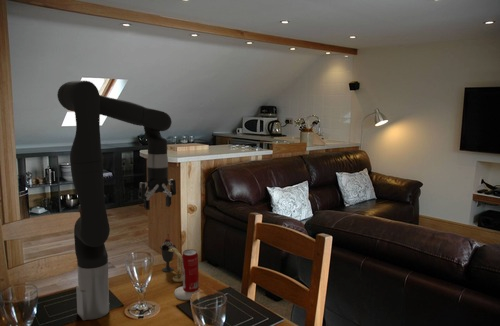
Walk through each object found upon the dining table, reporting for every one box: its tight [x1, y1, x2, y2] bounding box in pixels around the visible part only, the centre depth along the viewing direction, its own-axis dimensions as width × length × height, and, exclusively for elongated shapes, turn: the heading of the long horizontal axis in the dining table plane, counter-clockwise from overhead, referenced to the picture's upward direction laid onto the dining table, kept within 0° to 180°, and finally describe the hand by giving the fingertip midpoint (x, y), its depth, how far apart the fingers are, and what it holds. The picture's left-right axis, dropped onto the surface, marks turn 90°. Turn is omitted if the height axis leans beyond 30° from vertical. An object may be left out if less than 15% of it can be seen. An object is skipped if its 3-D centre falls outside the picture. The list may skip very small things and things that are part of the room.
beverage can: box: [181, 249, 200, 293], centre depth 145 cm, size 6×6×15 cm
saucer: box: [174, 285, 200, 301], centre depth 145 cm, size 9×9×1 cm
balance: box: [169, 247, 183, 283], centre depth 156 cm, size 5×13×12 cm, turn 41°
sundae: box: [159, 233, 177, 273], centre depth 165 cm, size 7×7×15 cm
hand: (157, 207), depth 149 cm, fingers open, 8 cm apart
